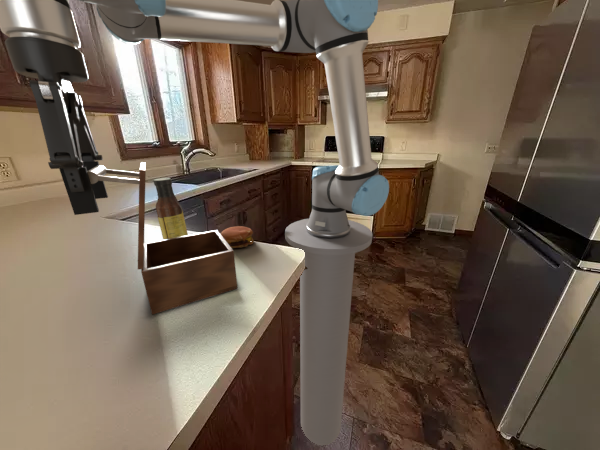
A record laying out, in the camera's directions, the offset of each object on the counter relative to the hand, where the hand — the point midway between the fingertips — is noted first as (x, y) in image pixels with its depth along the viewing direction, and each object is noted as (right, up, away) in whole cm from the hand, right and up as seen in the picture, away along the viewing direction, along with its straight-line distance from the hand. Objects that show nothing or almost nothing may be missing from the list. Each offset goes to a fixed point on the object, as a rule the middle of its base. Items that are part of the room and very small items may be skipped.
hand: (93, 204), depth 40 cm
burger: (+16, -9, +33) cm, 37 cm away
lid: (+6, -1, +4) cm, 7 cm away
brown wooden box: (+11, -16, +13) cm, 23 cm away
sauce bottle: (-1, -10, +29) cm, 31 cm away
